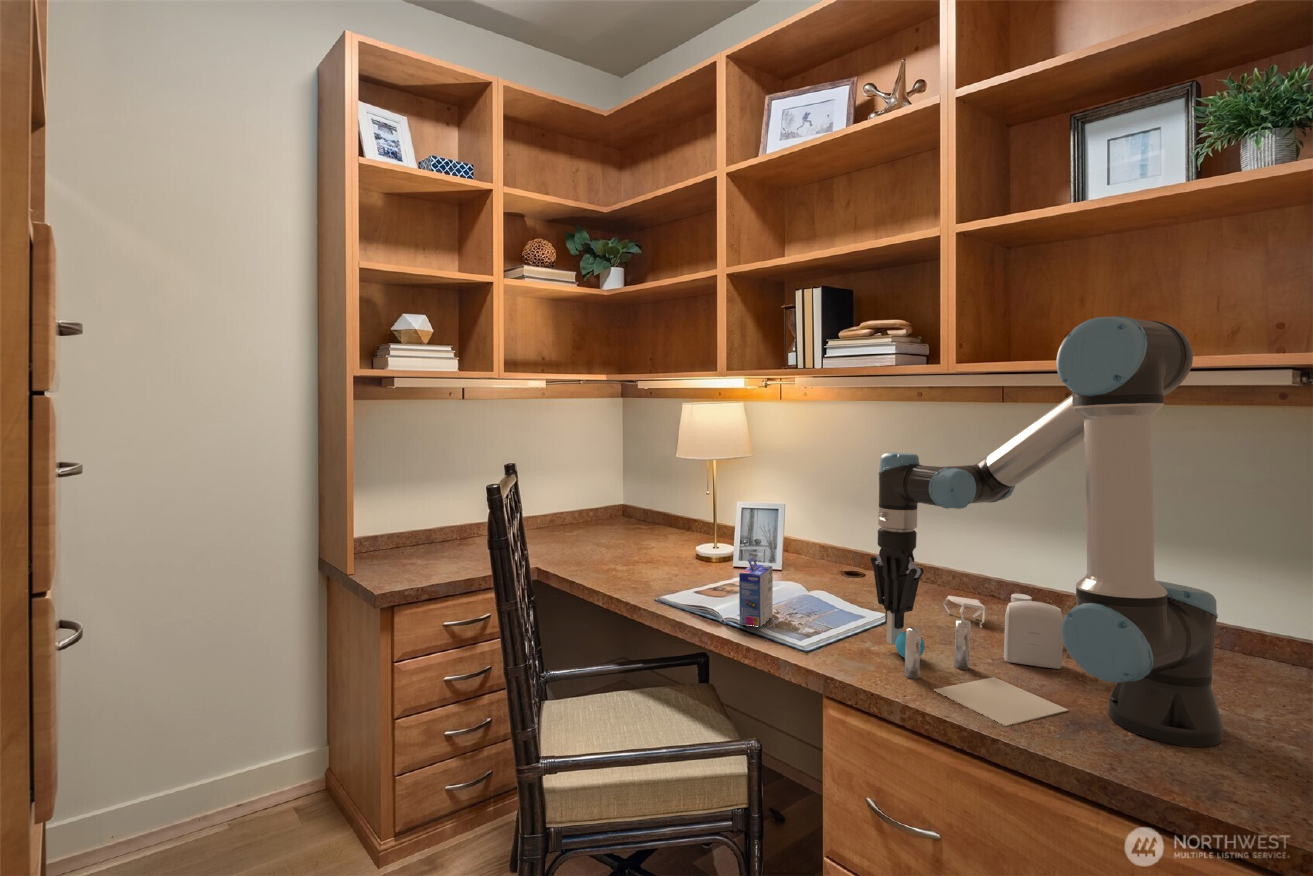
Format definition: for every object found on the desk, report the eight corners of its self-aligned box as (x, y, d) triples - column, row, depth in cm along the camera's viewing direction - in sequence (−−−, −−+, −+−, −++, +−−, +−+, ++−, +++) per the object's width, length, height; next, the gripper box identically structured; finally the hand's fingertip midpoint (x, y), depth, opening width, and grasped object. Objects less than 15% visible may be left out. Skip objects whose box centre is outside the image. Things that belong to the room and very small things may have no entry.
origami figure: (997, 623, 168) (998, 602, 168) (982, 630, 163) (983, 609, 162) (947, 610, 177) (948, 591, 177) (931, 617, 172) (932, 597, 171)
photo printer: (1003, 663, 143) (1006, 601, 142) (1002, 656, 146) (1005, 596, 146) (1062, 672, 138) (1066, 608, 138) (1060, 664, 142) (1063, 602, 142)
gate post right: (971, 668, 139) (973, 622, 139) (961, 670, 138) (963, 624, 138) (960, 663, 142) (962, 618, 141) (951, 665, 141) (953, 620, 140)
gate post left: (922, 677, 134) (924, 630, 134) (911, 679, 133) (913, 632, 133) (912, 672, 137) (913, 626, 136) (901, 674, 135) (903, 627, 135)
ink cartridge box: (750, 613, 172) (752, 553, 171) (773, 617, 170) (774, 556, 169) (737, 625, 163) (738, 562, 162) (760, 629, 161) (762, 565, 160)
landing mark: (1068, 710, 121) (1068, 709, 121) (1005, 726, 115) (1005, 725, 115) (993, 678, 135) (993, 677, 135) (933, 690, 128) (933, 689, 128)
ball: (908, 628, 148) (911, 655, 147) (888, 631, 145) (890, 659, 145) (928, 630, 143) (932, 659, 142) (907, 634, 140) (910, 663, 140)
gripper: (861, 524, 151) (858, 635, 152) (906, 535, 139) (902, 655, 140) (888, 522, 154) (885, 630, 155) (935, 532, 142) (931, 650, 144)
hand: (893, 642), depth 148 cm, fingers closed
